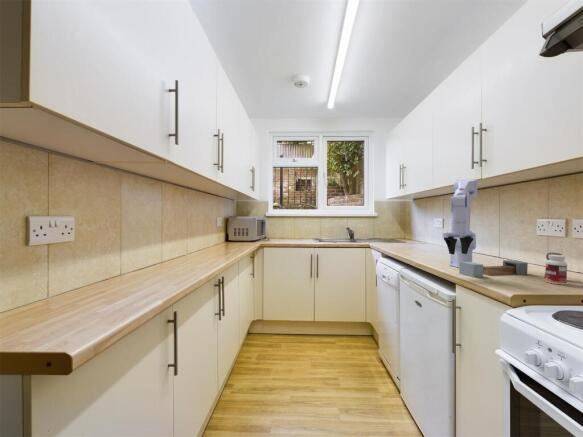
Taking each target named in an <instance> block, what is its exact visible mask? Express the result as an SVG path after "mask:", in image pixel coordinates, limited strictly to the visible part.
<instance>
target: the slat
mask: <svg viewBox="0 0 583 437" xmlns="http://www.w3.org/2000/svg"><path fill="white" fill-rule="evenodd" d="M499 275H500V276H501V275H502V276H503V275H517V274H516V267H514V266H503V265H491V266H489V265H488V266H487V265H486V266H484V265H483V276H499Z"/></svg>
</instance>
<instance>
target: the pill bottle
mask: <svg viewBox="0 0 583 437" xmlns="http://www.w3.org/2000/svg"><path fill="white" fill-rule="evenodd" d="M548 258H549V260H547V259H546V261H545V271H544V276H545V278H544V282H545V283H547V282H548V284H551V283H552V285H557V284H561V285H560V286H564V285H567V278H568V276H567V275H568V262H566V261H565V259H566V256H565V255H563V254H562V255H549V257H548Z"/></svg>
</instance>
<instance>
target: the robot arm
mask: <svg viewBox="0 0 583 437" xmlns="http://www.w3.org/2000/svg"><path fill="white" fill-rule="evenodd" d="M478 187H479V186H478V179H477V178H474V179H473V178H471V179H455V180H454V181H453V191H454V194H453V196H450V199H449V202H450V212H451V223H450V224H451V225H450V231H449V232H442V238H443V241H445V244H446V246H447V250H448V254H449V257H450V260H449V263H450V264H448V266H450V267H454V268H455V267H456V268H458V269H459V264H460V262H473V251H474V250H475V249H476V248H477V247H476V246H477V238H476V237H477V235H476V233H474V232H473V231H472V230H471V229H470V228H471V226H470V225H471V210H472V209H471V207H472V204H471V203H472V201H473V198H475V197H477V194H478Z"/></svg>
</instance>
